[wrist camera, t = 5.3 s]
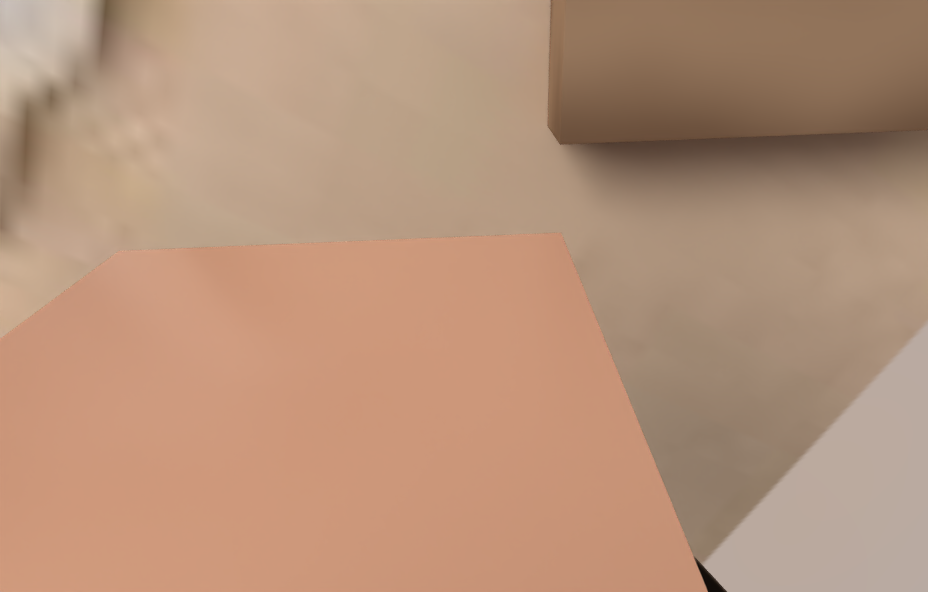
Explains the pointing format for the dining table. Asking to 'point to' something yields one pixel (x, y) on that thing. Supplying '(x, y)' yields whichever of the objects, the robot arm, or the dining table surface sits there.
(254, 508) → the terracotta cube
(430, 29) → the dining table surface
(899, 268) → the dining table surface
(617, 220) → the dining table surface
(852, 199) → the dining table surface
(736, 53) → the walnut base
